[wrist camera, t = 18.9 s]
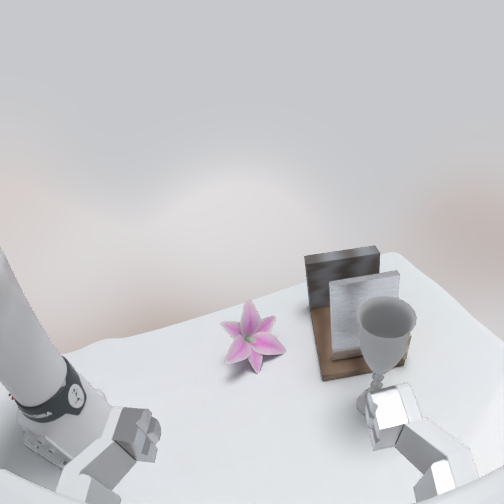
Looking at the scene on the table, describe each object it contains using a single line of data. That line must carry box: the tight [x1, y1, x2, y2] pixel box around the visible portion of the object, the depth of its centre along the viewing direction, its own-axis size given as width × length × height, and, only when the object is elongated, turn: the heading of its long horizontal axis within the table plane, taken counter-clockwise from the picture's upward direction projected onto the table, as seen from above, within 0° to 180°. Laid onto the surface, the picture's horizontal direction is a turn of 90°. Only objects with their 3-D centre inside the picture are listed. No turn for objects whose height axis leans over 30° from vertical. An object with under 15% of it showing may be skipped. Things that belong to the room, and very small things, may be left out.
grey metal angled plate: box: [329, 270, 400, 360], centre depth 47 cm, size 11×9×15 cm
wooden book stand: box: [304, 246, 411, 381], centre depth 52 cm, size 14×20×12 cm
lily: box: [220, 298, 286, 374], centre depth 53 cm, size 12×12×10 cm
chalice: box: [357, 296, 417, 416], centre depth 36 cm, size 7×7×18 cm
